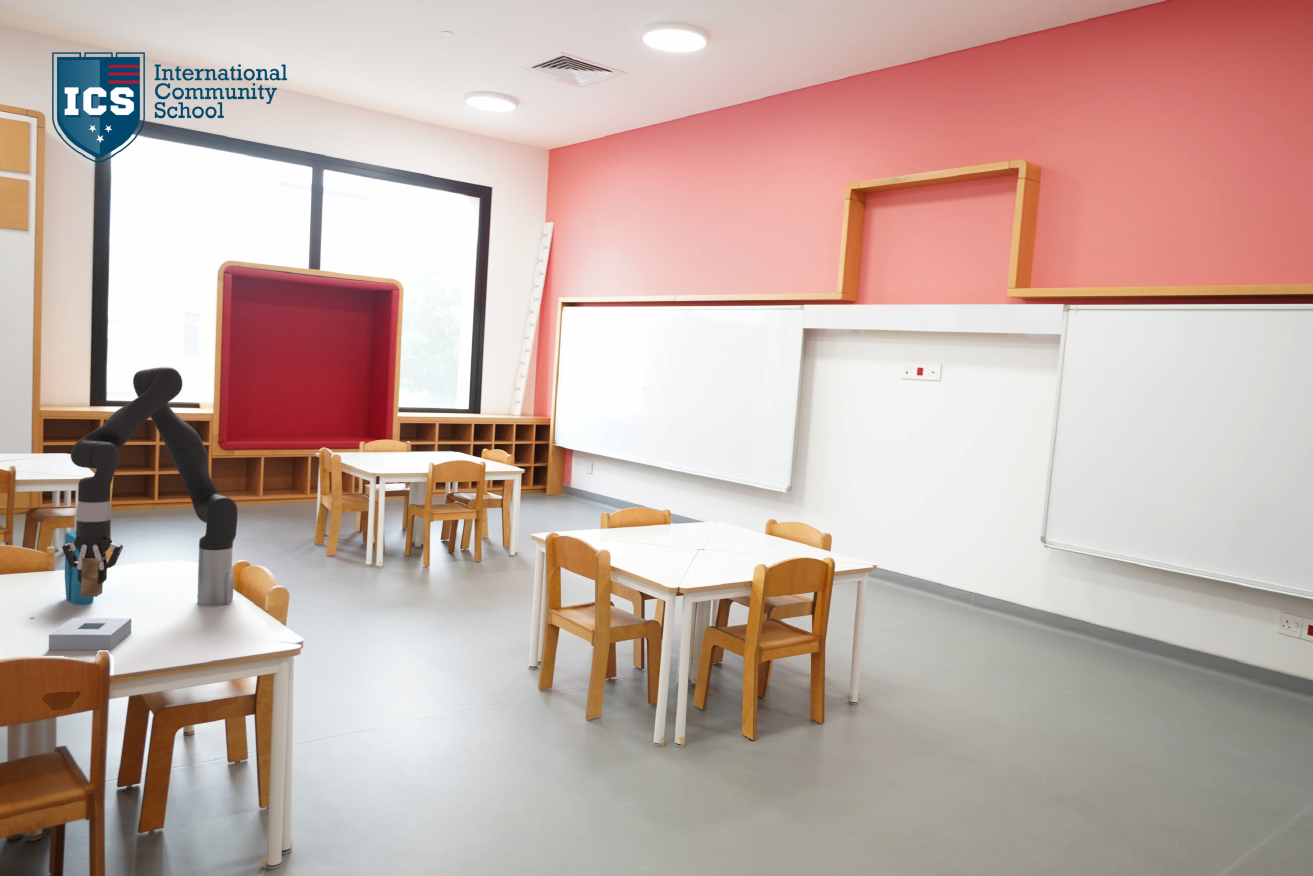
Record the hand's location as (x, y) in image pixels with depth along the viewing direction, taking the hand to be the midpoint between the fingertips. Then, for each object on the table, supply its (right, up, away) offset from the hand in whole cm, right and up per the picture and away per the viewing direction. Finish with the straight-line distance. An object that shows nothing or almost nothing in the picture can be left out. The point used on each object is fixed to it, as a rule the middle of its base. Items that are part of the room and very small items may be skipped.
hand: (92, 582), depth 225 cm
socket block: (-1, -16, +1) cm, 16 cm away
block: (-26, -11, +33) cm, 44 cm away
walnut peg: (0, -3, 0) cm, 3 cm away
